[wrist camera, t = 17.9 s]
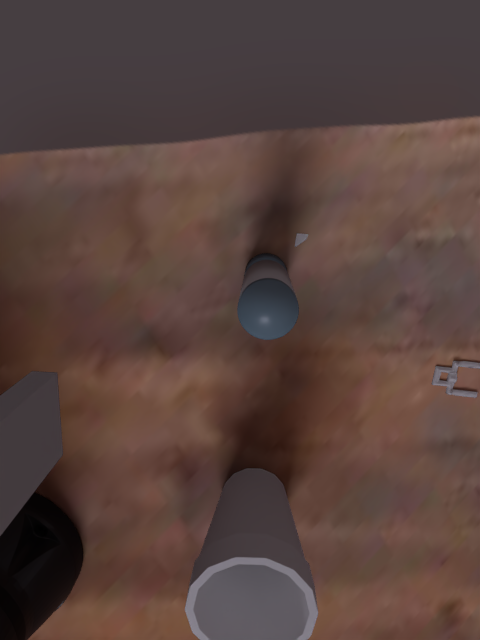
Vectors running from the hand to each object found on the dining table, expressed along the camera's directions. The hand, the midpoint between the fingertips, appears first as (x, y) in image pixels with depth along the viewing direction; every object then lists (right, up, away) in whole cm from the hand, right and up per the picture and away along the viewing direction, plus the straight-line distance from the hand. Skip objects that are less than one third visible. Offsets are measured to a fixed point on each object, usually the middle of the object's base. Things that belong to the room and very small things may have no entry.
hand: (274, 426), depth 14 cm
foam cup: (0, -14, +32) cm, 35 cm away
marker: (+1, +7, +26) cm, 27 cm away
